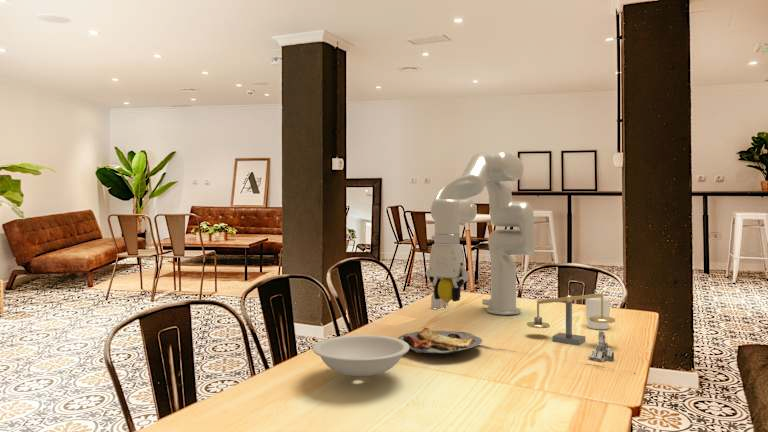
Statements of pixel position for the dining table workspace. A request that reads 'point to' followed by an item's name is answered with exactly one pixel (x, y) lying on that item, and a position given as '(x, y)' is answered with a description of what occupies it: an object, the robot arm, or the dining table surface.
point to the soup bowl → (361, 353)
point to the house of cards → (602, 350)
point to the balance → (569, 319)
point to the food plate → (440, 341)
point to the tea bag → (437, 303)
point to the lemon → (445, 289)
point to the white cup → (597, 311)
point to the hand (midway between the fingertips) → (447, 299)
